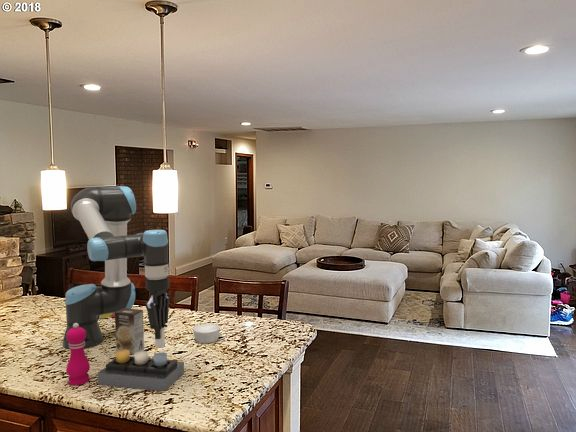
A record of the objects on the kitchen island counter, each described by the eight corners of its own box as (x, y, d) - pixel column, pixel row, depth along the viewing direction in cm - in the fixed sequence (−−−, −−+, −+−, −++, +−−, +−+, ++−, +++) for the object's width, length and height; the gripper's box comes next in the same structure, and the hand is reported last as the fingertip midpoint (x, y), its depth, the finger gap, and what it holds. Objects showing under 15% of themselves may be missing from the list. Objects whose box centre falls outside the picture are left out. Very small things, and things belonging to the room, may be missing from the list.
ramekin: (214, 345, 187) (214, 332, 186) (188, 344, 189) (188, 331, 188) (224, 336, 198) (223, 324, 197) (199, 334, 200) (199, 322, 199)
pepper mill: (71, 377, 159) (68, 320, 157) (93, 376, 159) (90, 319, 158) (63, 386, 152) (59, 327, 150) (86, 385, 152) (83, 326, 150)
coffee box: (115, 352, 181) (113, 311, 179) (126, 346, 187) (124, 307, 185) (135, 354, 178) (133, 314, 176) (145, 348, 184) (143, 309, 182)
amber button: (113, 372, 157) (113, 353, 156) (121, 367, 161) (120, 349, 160) (125, 373, 156) (124, 354, 155) (132, 368, 160) (132, 349, 159)
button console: (98, 384, 153) (97, 368, 152) (122, 367, 166) (121, 352, 166) (164, 391, 147) (164, 374, 147) (184, 372, 161) (183, 357, 161)
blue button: (151, 376, 154) (150, 356, 153) (158, 370, 158) (157, 351, 157) (163, 377, 153) (163, 357, 152) (170, 371, 157) (169, 352, 156)
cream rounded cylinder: (132, 374, 155) (131, 355, 154) (139, 369, 159) (138, 350, 159) (144, 375, 154) (143, 356, 154) (151, 370, 158) (150, 351, 158)
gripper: (157, 282, 145) (160, 355, 147) (176, 273, 158) (179, 341, 160) (136, 281, 147) (139, 353, 149) (156, 272, 159) (159, 339, 161)
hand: (160, 347), depth 154 cm, fingers closed
